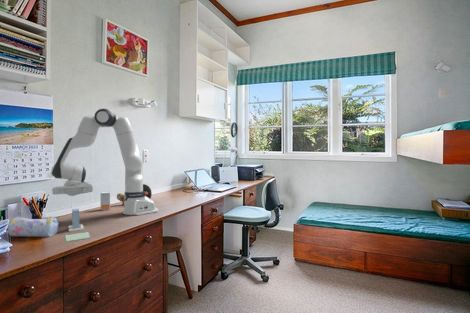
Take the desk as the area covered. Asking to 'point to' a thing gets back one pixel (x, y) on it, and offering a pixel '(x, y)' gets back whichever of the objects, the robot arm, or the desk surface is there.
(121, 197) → the lion figurine
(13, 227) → the pencil case
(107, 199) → the skincare box
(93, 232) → the desk surface
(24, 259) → the desk surface
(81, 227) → the slot box
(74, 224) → the blue cover plate
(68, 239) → the green mat
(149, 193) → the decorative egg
